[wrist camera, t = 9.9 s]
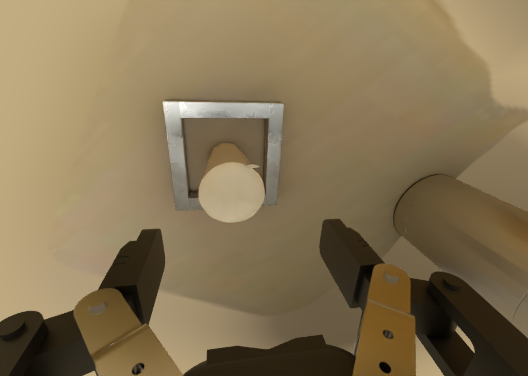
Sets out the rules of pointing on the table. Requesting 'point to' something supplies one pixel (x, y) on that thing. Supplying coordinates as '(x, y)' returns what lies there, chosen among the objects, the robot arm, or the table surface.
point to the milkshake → (230, 185)
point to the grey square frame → (221, 109)
